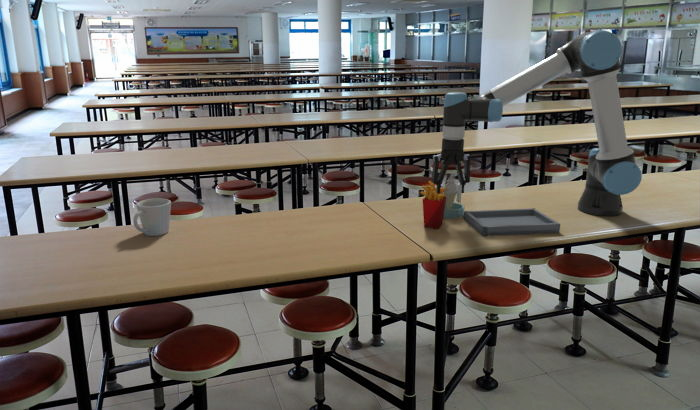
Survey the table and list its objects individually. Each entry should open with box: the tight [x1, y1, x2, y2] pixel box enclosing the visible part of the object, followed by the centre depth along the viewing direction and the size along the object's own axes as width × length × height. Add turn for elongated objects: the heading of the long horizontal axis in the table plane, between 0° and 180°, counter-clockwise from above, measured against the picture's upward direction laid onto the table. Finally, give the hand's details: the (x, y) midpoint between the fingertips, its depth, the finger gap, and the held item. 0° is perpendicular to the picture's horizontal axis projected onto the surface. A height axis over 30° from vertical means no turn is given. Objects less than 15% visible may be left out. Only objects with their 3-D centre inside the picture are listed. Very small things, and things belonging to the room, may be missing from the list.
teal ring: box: [443, 201, 466, 219], centre depth 198 cm, size 11×11×3 cm
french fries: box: [419, 180, 448, 230], centre depth 183 cm, size 9×8×15 cm
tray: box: [463, 207, 561, 237], centre depth 186 cm, size 26×18×3 cm
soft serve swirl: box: [443, 173, 457, 210], centre depth 197 cm, size 5×5×15 cm
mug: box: [132, 197, 172, 237], centre depth 174 cm, size 10×15×10 cm
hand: (449, 202), depth 198 cm, fingers open, 6 cm apart
